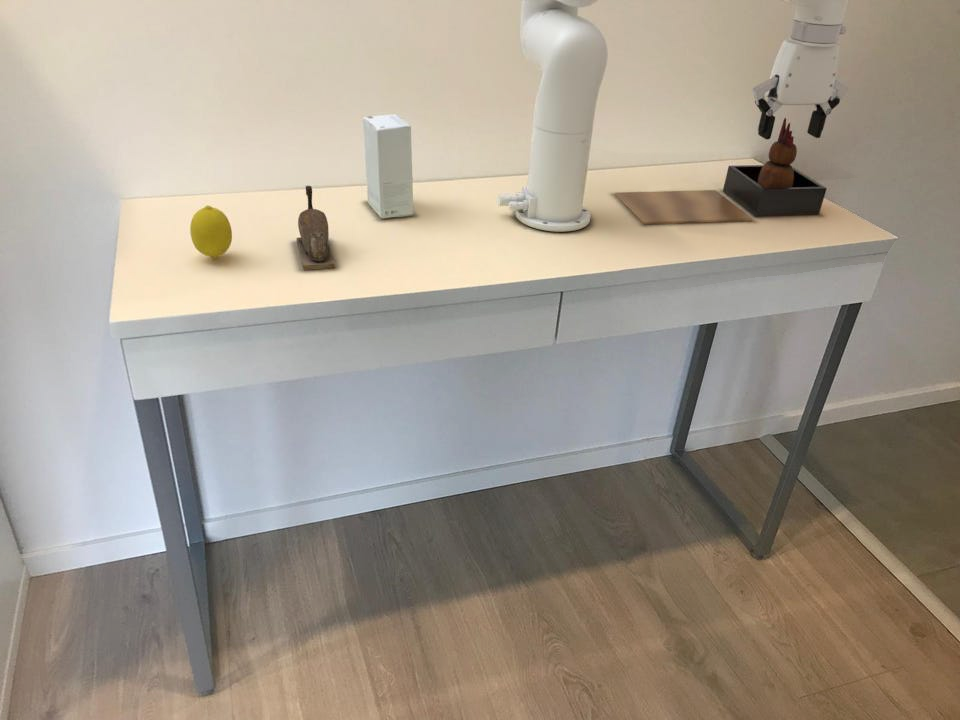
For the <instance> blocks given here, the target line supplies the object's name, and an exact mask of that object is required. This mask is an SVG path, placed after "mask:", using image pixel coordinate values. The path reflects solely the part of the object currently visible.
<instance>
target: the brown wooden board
mask: <svg viewBox="0 0 960 720" xmlns="http://www.w3.org/2000/svg"><path fill="white" fill-rule="evenodd" d="M615 196H616V197H617V198H618V199H619V200H620V201H621V202H622V203H623V204H624V205H625V206H626V207H627V208H628V209H629V210H630V211H631V212H632V213H633V214H634V215H635V217H636V218H637V219H638V220H639V221H640V222H641V223H642V224H643V225H666V224H667V225H668V224H669V225H670V224H699V223H700V224H701V223H727V222H732V223H733V222H752V219H753V218H752V217H750V216H749V215H748V214H746V213H745V212H744V211H743V210H741V209H740V208H739V207H738V206H736V205H735V204H734V203H732V202H731V201H730V200H729V199H728V198H726V197H725V196H724V195H723V194H721V193H720V192H719V191H718V190H716V189H709V190H707V189H706V190H703V189H702V190H666V191H665V190H663V191H623V192H621V191H620V192H615Z"/></svg>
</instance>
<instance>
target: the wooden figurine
mask: <svg viewBox="0 0 960 720" xmlns="http://www.w3.org/2000/svg"><path fill="white" fill-rule="evenodd" d="M790 129H791V122H789V123H787V118H786V117H784V119H783V122H782V125H781V128H780V131H779V135H778V138H777V141H774V142H773V143H772V144H771V147H770V148H769V152H768V161H766V162H765V163H764V164H762V165H763V167H762V169H761V171H760V174H759V178H758V184H759V185H760V186H762V187H763V188H792V185H793V180H794V171H793V168H792V167H793V166H792V165H791V164H793V163H794V162H795V160H796V157H797V155H798V154H797V153H798V148H797V145H796V144H795V143H794V137H795V136H793V130H790Z"/></svg>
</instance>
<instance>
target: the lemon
mask: <svg viewBox="0 0 960 720" xmlns="http://www.w3.org/2000/svg"><path fill="white" fill-rule="evenodd" d="M189 227H190V228H189V229H190V230H189V231H190V232H189V233H190V237H191V241H192V244H193V247H195V249H196V250H197V251H198V252H199V253H201V254H202V255H203V256H206V257H209V258H210V259H212V260H217V259H218V258H219V256H222V255H223V254H225V253H226V252H227V251H228V250H229V249H230V247H231V245H232V240H233V233H232V231H233V230H232V227H231V223H230V221H229V218H228V217H227V216H226V214H225V213H224V212H223V211H222V210H220V209H219V208H216V207H212V206H211V205H205V206H204V207H202V208H200V209H198V210H197V211H196V212H195V213H194V214H193V216H192V218H191V221H190V226H189Z"/></svg>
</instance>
